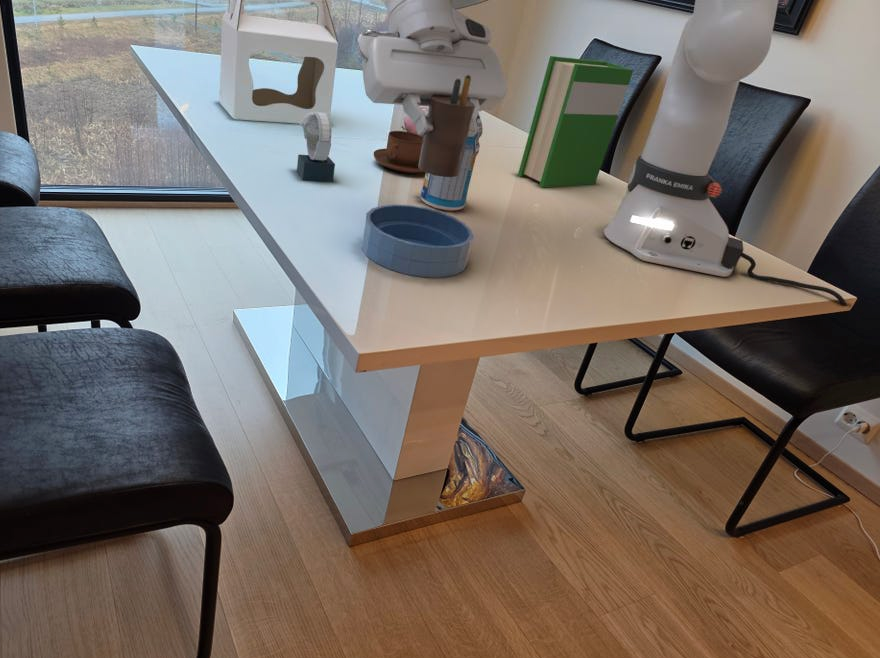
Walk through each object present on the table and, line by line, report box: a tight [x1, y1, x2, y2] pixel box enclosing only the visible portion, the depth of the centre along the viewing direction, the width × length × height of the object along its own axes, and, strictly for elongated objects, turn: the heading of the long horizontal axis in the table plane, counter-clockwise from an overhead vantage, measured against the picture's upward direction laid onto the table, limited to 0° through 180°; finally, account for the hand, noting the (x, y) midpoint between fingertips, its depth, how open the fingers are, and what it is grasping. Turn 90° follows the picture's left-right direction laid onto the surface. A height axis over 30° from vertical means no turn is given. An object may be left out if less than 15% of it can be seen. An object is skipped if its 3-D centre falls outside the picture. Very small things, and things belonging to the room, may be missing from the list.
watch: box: [296, 112, 336, 182], centre depth 116 cm, size 6×8×11 cm
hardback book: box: [517, 55, 634, 189], centre depth 140 cm, size 18×7×24 cm, turn 126°
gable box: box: [219, 0, 339, 125], centre depth 144 cm, size 22×13×28 cm, turn 115°
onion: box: [400, 106, 429, 137], centre depth 155 cm, size 8×8×7 cm
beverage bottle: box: [420, 110, 483, 211], centre depth 114 cm, size 8×8×20 cm
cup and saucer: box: [373, 130, 425, 174], centre depth 132 cm, size 12×12×6 cm
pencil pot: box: [418, 75, 474, 177], centre depth 86 cm, size 6×6×12 cm
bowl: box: [361, 204, 474, 279], centre depth 95 cm, size 15×15×5 cm
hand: (449, 133), depth 86 cm, fingers closed on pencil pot, 5 cm apart
